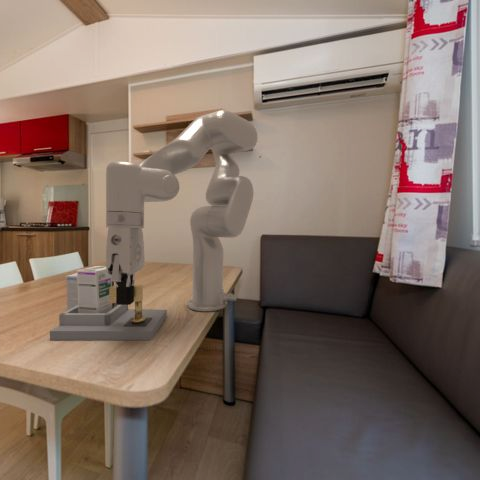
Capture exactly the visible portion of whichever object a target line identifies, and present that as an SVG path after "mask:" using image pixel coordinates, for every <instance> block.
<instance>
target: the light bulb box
mask: <svg viewBox="0 0 480 480" xmlns="http://www.w3.org/2000/svg"><path fill="white" fill-rule="evenodd" d="M65 279H66V280H65V281H66V283H65V285H66V311H67V310H69V309H71V308H73V307H75V306H77V305H78V281H77V272H75V273H73V274H69V275H66V278H65Z"/></svg>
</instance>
